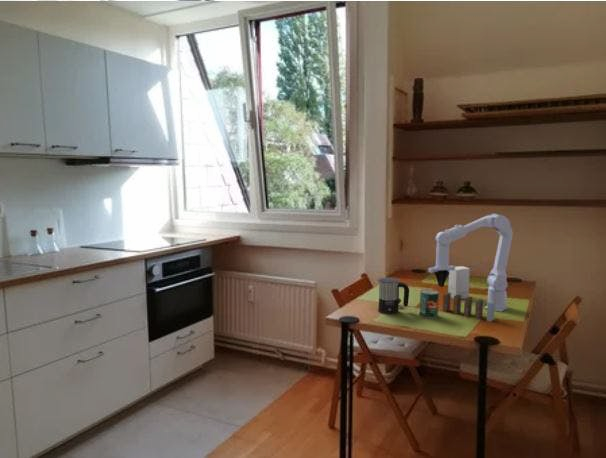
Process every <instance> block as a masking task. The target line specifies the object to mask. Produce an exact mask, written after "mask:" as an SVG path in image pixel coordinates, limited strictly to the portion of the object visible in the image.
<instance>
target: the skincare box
mask: <svg viewBox="0 0 606 458" xmlns="http://www.w3.org/2000/svg"><path fill="white" fill-rule="evenodd" d="M470 270H471V269H470V268H469V267H467V266H462V265H461V266H455V270H448V272H449V275H448V287H447V289H448V290H447V292H448V293H451V299H453V300H454V296H455V295H461V300H463V299H464V300H465V298H466V297H470V295H469V294H470V293H469V291H470V289H469V288H470V287H469V286H470V272H471V271H470Z"/></svg>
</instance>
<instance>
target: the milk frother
mask: <svg viewBox="0 0 606 458" xmlns="http://www.w3.org/2000/svg"><path fill="white" fill-rule="evenodd" d="M400 288H403V303H402V300H401V298H400ZM409 295H410V288H409V285H408V284H406V283H405V282H402V281H400V279H398V278H395V277H380V278H378V309H377V311H378V313H382V314H385V315H394V314H397V313H399V308H400V305H399V304H400V303H402V305H403V307H408V305H409V297H410V296H409Z"/></svg>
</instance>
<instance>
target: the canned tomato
mask: <svg viewBox="0 0 606 458" xmlns="http://www.w3.org/2000/svg"><path fill="white" fill-rule="evenodd" d="M439 294H440V291H438V290H435V289H427V288H426V289H421V290H420V291H419V313H418V314H419V317H421V318H425V319H436V318H439V317H438V316H439V315H438V314H439Z"/></svg>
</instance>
